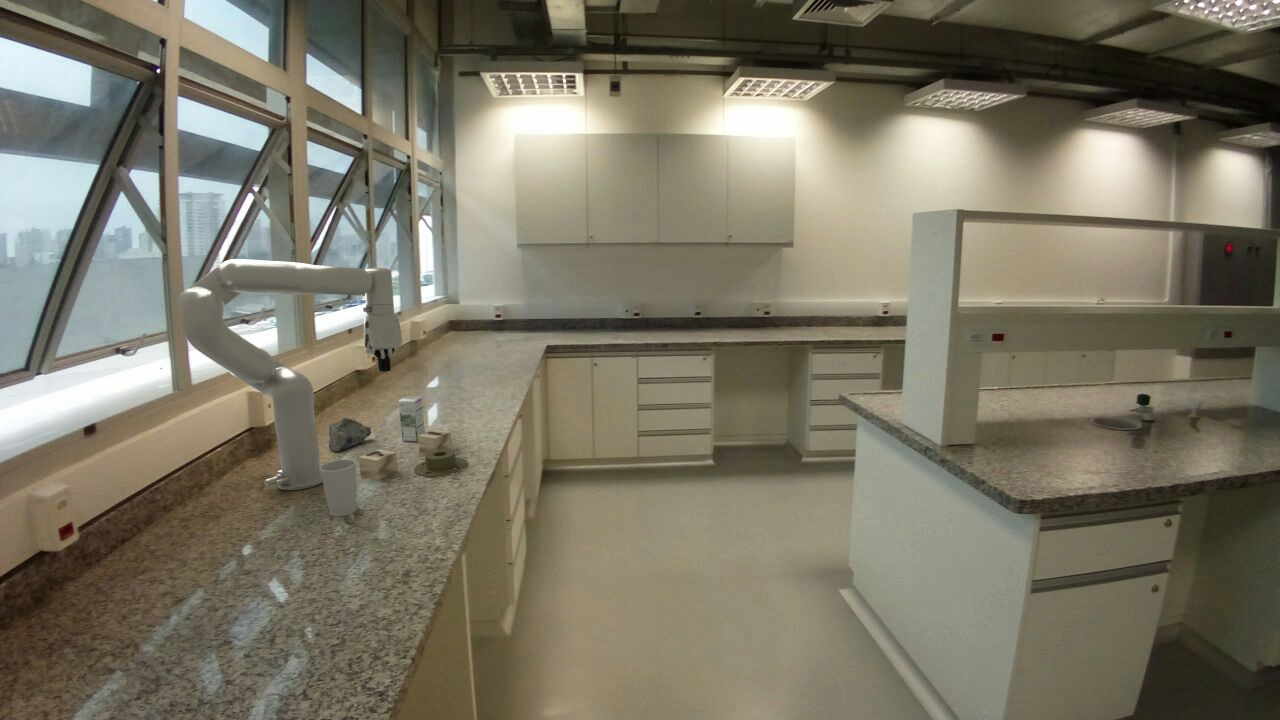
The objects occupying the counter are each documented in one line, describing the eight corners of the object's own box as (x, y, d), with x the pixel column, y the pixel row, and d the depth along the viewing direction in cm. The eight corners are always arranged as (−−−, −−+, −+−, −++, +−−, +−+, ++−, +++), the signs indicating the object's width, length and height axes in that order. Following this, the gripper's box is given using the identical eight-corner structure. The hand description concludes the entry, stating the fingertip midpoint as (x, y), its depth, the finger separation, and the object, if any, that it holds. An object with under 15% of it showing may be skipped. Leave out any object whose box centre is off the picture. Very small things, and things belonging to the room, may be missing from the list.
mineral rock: (372, 438, 202) (369, 410, 200) (373, 447, 193) (370, 418, 191) (330, 444, 197) (326, 415, 195) (329, 454, 187) (325, 424, 185)
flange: (476, 448, 178) (435, 443, 183) (444, 465, 164) (401, 460, 169) (477, 462, 178) (437, 457, 183) (446, 481, 165) (402, 475, 170)
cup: (366, 503, 150) (361, 458, 148) (352, 517, 142) (346, 470, 140) (334, 504, 150) (329, 459, 148) (319, 518, 142) (313, 471, 140)
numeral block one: (435, 456, 183) (434, 437, 182) (419, 453, 187) (417, 434, 185) (452, 449, 190) (450, 431, 188) (436, 446, 193) (434, 428, 191)
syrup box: (426, 436, 203) (422, 396, 200) (418, 442, 197) (414, 400, 194) (410, 436, 203) (406, 395, 201) (401, 442, 198) (397, 400, 195)
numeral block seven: (378, 480, 165) (376, 459, 164) (360, 477, 168) (358, 456, 167) (398, 471, 172) (395, 451, 170) (380, 468, 174) (378, 448, 173)
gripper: (366, 312, 166) (371, 376, 169) (409, 308, 178) (413, 368, 182) (349, 311, 169) (354, 374, 172) (393, 307, 182) (397, 366, 185)
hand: (384, 370), depth 177 cm, fingers closed
